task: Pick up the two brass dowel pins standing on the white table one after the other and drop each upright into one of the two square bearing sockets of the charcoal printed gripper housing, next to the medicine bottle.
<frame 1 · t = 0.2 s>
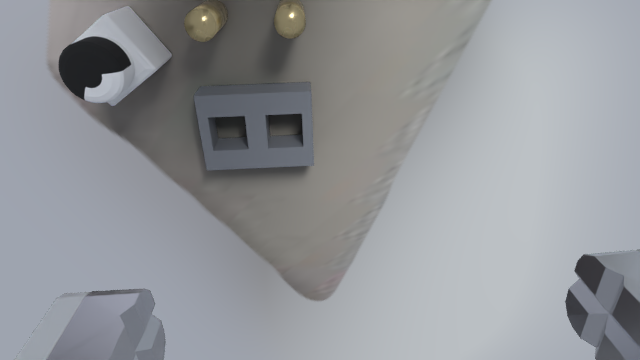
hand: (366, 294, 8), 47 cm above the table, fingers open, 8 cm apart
housing: (259, 120, 56), on the table
pin a: (290, 11, 49), on the table
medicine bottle: (131, 48, 51), on the table
pin b: (213, 14, 49), on the table
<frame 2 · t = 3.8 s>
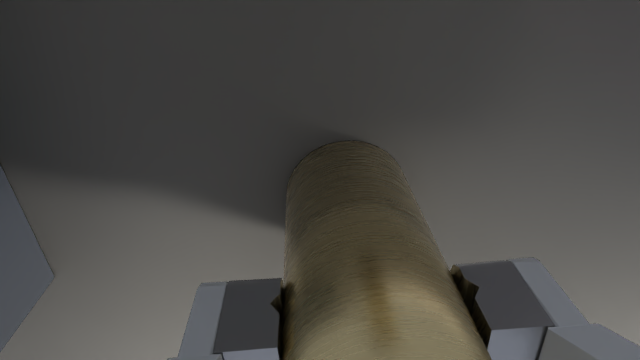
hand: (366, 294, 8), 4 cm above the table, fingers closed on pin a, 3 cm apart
pin a: (346, 195, 11), on the table, touching gripper
when the fingers open (5 cm above the table, at t = 8.3 s): pin a drops 1 cm, resting in housing.
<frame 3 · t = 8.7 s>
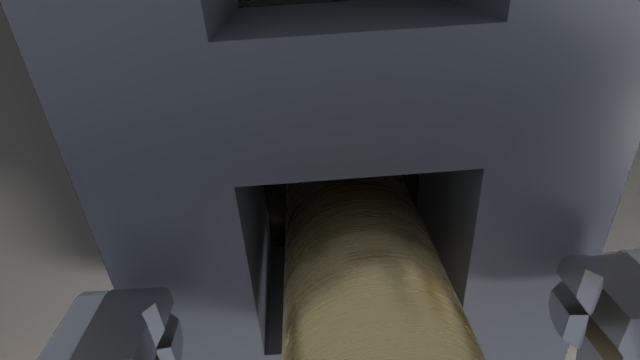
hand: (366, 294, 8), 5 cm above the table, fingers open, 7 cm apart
housing: (337, 56, 10), on the table
pin a: (342, 182, 12), resting in housing
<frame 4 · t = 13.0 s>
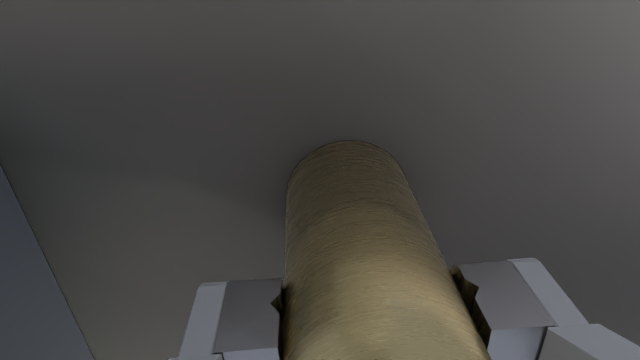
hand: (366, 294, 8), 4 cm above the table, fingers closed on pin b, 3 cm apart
pin b: (346, 195, 11), on the table, touching gripper
when the fingers open (5 cm above the table, at t = 17.5 s): pin b drops 1 cm, resting in housing.
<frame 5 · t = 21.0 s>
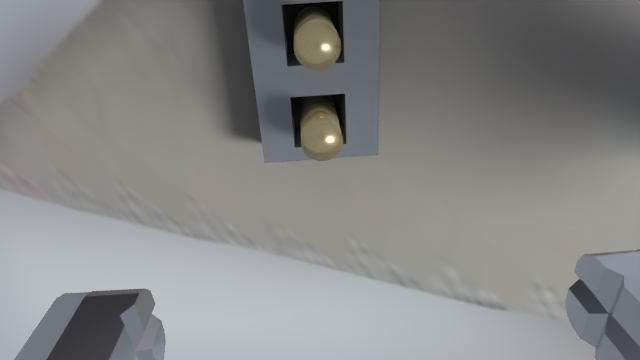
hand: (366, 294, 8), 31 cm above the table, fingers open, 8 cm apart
housing: (314, 67, 37), on the table
pin a: (317, 106, 39), resting in housing
pin b: (312, 26, 35), resting in housing
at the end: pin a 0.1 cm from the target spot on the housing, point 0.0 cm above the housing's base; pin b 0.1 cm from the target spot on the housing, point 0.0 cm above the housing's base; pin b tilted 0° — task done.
